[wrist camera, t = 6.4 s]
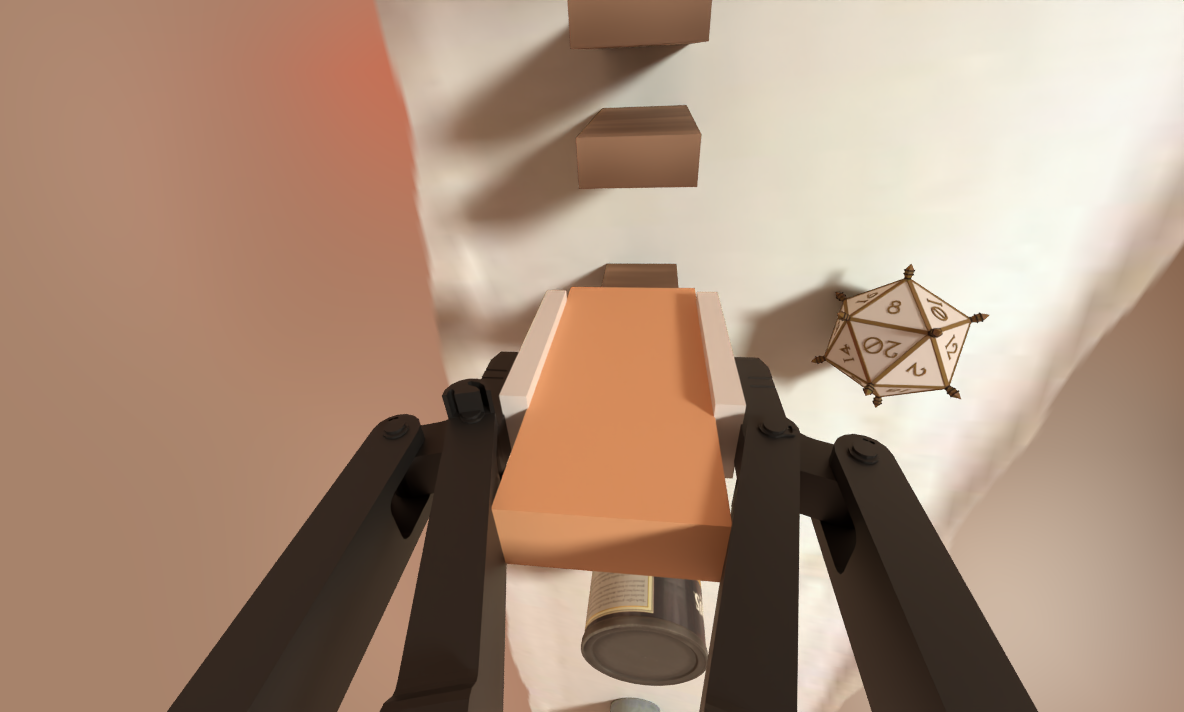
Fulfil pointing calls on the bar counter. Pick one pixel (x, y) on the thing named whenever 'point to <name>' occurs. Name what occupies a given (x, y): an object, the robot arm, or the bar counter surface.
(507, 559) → the domino
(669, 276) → the domino
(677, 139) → the domino
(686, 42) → the domino
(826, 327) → the bar counter surface
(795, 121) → the bar counter surface
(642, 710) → the grey green cup
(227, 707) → the robot arm
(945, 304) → the game die
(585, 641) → the coffee can
